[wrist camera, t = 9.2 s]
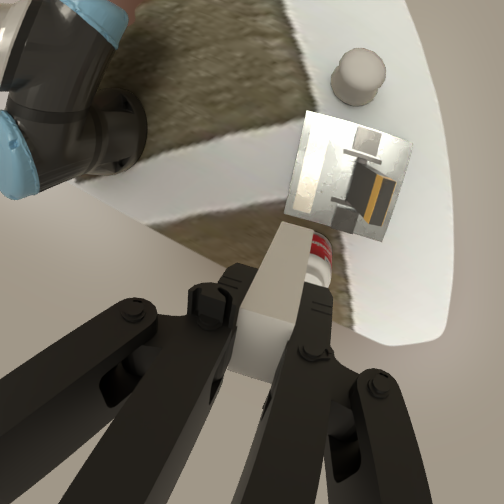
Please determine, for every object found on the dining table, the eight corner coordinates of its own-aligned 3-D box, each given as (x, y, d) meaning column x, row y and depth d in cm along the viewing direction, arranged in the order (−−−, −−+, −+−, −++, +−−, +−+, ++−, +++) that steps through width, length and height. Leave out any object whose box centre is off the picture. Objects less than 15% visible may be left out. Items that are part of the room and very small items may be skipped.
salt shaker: (381, 100, 30) (406, 91, 19) (341, 112, 32) (346, 107, 21) (364, 60, 28) (379, 32, 17) (323, 72, 30) (320, 47, 19)
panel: (286, 209, 40) (282, 215, 37) (307, 111, 33) (305, 110, 31) (379, 236, 38) (382, 245, 35) (409, 142, 31) (415, 144, 29)
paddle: (342, 201, 35) (366, 228, 28) (355, 156, 32) (384, 173, 25) (354, 203, 35) (380, 231, 28) (367, 159, 32) (397, 177, 25)
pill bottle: (340, 251, 41) (341, 294, 31) (310, 275, 44) (301, 320, 34) (312, 221, 40) (305, 256, 30) (282, 247, 43) (265, 287, 33)
